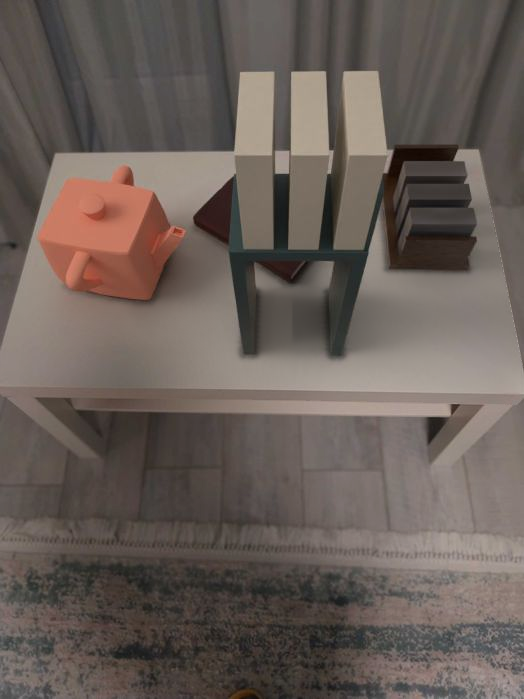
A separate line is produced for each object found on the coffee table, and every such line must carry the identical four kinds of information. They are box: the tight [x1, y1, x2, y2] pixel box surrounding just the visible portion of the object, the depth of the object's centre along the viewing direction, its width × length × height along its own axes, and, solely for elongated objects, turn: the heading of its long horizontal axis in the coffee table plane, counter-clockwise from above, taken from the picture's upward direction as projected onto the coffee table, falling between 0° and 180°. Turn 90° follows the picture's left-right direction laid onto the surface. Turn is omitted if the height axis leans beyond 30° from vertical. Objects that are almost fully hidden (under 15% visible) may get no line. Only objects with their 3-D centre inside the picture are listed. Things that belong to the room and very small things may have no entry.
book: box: [192, 175, 310, 283], centre depth 79 cm, size 12×19×3 cm, turn 53°
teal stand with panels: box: [227, 70, 389, 356], centre depth 57 cm, size 14×11×36 cm
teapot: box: [36, 165, 187, 301], centre depth 72 cm, size 20×22×14 cm
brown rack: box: [381, 143, 478, 270], centre depth 77 cm, size 19×12×9 cm, turn 178°
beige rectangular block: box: [233, 71, 276, 250], centre depth 46 cm, size 3×10×12 cm, turn 178°
